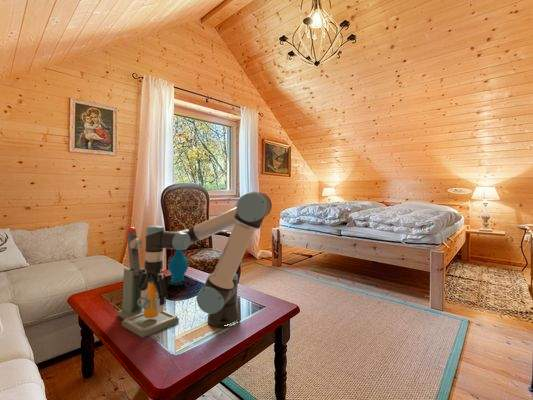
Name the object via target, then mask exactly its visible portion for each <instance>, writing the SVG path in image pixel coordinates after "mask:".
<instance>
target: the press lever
mask: <svg viewBox="0 0 533 400" xmlns="http://www.w3.org/2000/svg"><path fill="white" fill-rule="evenodd" d="M126 237H127V248H128V259H129V268H130V270H132V271H134V277H138V276H140V268H141V266H140V257H139V255H140V254H139V249H141V248H142V246H143V241H142V240H141V238H139V237H138V235H137V229H136V228H135V227H133V226H130V227H128V228H127V229H126Z"/></svg>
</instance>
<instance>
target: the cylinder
mask: <svg viewBox="0 0 533 400" xmlns="http://www.w3.org/2000/svg"><path fill="white" fill-rule="evenodd" d="M147 288H148V289H147V295H146V298H145V297H141V298H139V299H138V301H137V304H138V306H140V307H143V309H144V317H146V318H154V317H157V316H158V313H157V300H158V297H159V296H158V293H157V290H156V287H155V284H153V282H152V281H150V282H148V287H147ZM141 299H144V300H145V302H144V304H143V305H140V304H139V301H140V300H141ZM166 303H167V298H166V297H165V298H164V305H165V304H166Z"/></svg>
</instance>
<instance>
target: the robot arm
mask: <svg viewBox="0 0 533 400" xmlns="http://www.w3.org/2000/svg"><path fill="white" fill-rule="evenodd" d="M272 206H273V205H272V200H271V198H270V197H269V196H268V195H267V194H266V193H263V192H257V191H248V192H247V193H244V194H243V195H241V196H240V197H239V199H238V200H237V202H236V207H234V208H232V209H229V210H227V211H225V212H223V213H221V214H218V215H216V216H214V217H211V218H209V219H207V220H205V221H203V222H202V221H201V222H199V223H198V224H196V225H194V226H191V227H189V228H186V229H181V230H177V231H166V230H165V227H164V225H149V226H147V227H146V231H145V249H144V268H142V275H141V278H140V281H139V285H138V288H140V290H141V297H145V298H146V295H147V294H148V282H151V281H152V282H153V284H155V287H156V290H157V293H158V295H157V298H158V300H157V313H160V312H162V311H163V310H164V305H165V304H164V301H165V299H164V298H165V297H167V298H168V297H169V291H168V288H167V283H166V274H165V273H161V270H162V269H163V265H164V264H163V263H164V261H163V258H164V249H168V250H175V251H176V250H182V251H185V250H187V249H188V248H189V247H190V246H191V245H194V244H195V243H197V242H199V241H201V240H204V239H205V238H209V237H211V236H213V235H216V234H218V233H221V232H223V231H225V230H228V229H230V228H232V230H231V233H230V234H229V237H228V239H227V242H226V244H225V246H224V248H223V251H222V253H221V255H220V258H219V260H218V262H217V264H216V267H215V268H214V271H213V273H212V272H211V273H210V274H208V276H207V278H206V281H205V283H204V285H203V287H201V289H199V290H198V292H197V294H196V302H197V305H198V307H199V309H200V310H201V311H203V312H204V313H206V314H207V323H208V324H209V325H210V326H212V327H215V328H222V329H223V328H225V329H226V328H229V327H228V326H229V325H228V326H224V325H227V324H230V323H232V322H234V321H236V320H237V319H238V318H239V316H240V312H239V310H238V309H239V308H238V304H237V303H238V284H239V283H238V282H239V276H238V273H237V271H238V269H239V266H240V264H241V262H242V259H243V257H244V255H245V253H246V250H247V249H248V246H249V243H250V242H251V240H252V238H253V234H254V232H255V231H256V230H259V229H260V228H261V226H262V223H263V222H264V220H265V218H266V217H267V216H268V215H269V214H270V213H271V211H272ZM141 284H142V285H141ZM158 296H159V297H158ZM144 302H145V300H144V299H141V305H143V304H144ZM239 319H240V318H239Z"/></svg>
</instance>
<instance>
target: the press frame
mask: <svg viewBox="0 0 533 400" xmlns="http://www.w3.org/2000/svg"><path fill="white" fill-rule="evenodd" d="M142 269H143V268H141V267H140V276H138V277H134V271H132V270H130V267H126V268H123V280H122V281H123V283H122V284H123V285H122V289H123V290H122V302H121V303H122V305H121V310H118V311H117V316H118V317H120V318H121V319H123V320H122V321H121V326H122V327H123V328H125V329H127V330H128V331H130V332H132V333H133V334H135V335H137V336H139V337H140V338H144V337H147V336H150V335H152V334H155V333H157V332H159V331H162V330H164V329H166V328H168V327H169V328H170V327H171V326H174V325H176V324H178V323H180V321H179V319H180V318H179V317H178V315H176V314H175V315H174V314H172V313H171V312H168V311H166V310H164V309H163V311H162V312H160V313H158V316H157V317H154V318H146V317H144V309H143V307H140V306H138V304H137V301H138V299H139V298H141V290H140V288H138V285H139V281H140V278H141V275H142ZM141 285H142V284H141ZM139 304H140V305H141V300H140V301H139Z"/></svg>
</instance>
